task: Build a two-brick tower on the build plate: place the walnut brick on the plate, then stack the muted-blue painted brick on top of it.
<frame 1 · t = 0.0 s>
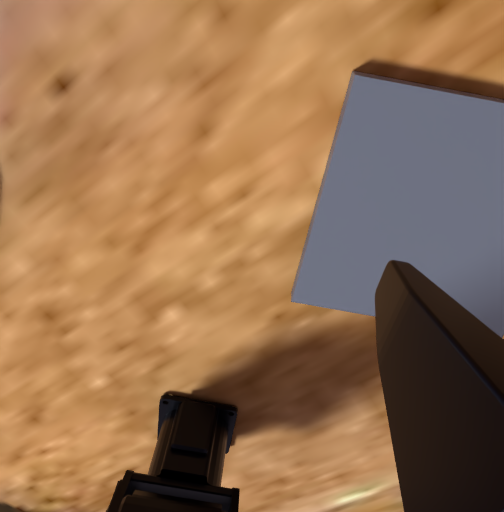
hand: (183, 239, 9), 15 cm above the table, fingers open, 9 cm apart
build plate: (435, 220, 25), on the table
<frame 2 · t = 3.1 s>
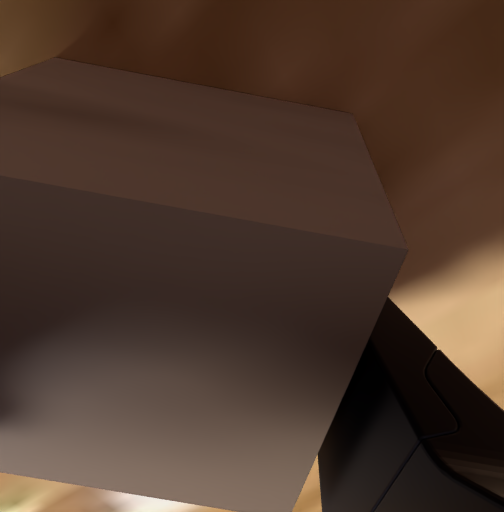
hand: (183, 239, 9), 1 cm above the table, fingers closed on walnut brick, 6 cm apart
walnut brick: (192, 216, 10), on the table, touching gripper
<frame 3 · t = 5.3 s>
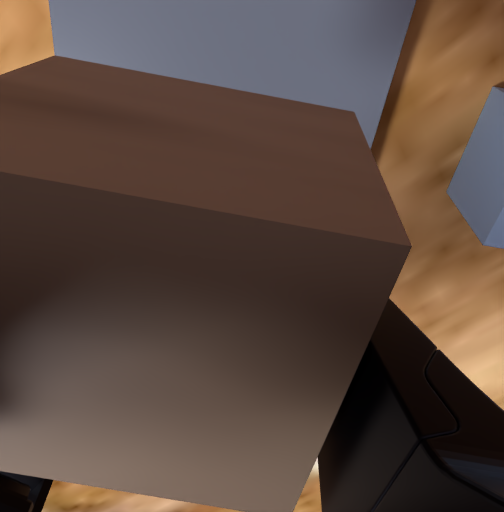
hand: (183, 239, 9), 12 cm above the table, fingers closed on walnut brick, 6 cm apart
build plate: (222, 79, 19), on the table
walnut brick: (193, 215, 10), point 11 cm above the table, touching gripper
when the fingers open (3 cm above the table, at t = 7.5 s): walnut brick drops 1 cm, resting on build plate.
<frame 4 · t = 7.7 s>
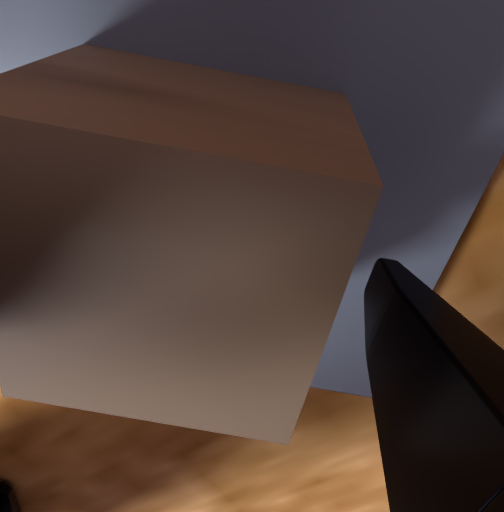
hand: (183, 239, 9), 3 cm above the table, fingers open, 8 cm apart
build plate: (210, 174, 12), on the table
walnut brick: (202, 188, 11), point 1 cm above the table, touching build plate
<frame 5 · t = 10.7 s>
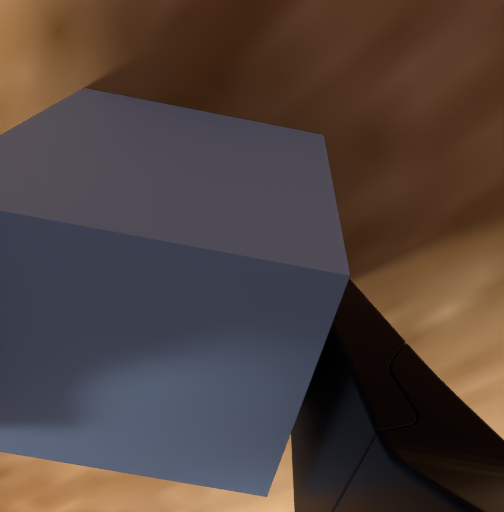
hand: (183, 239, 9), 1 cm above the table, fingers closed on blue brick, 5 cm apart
blue brick: (194, 214, 10), on the table, touching gripper
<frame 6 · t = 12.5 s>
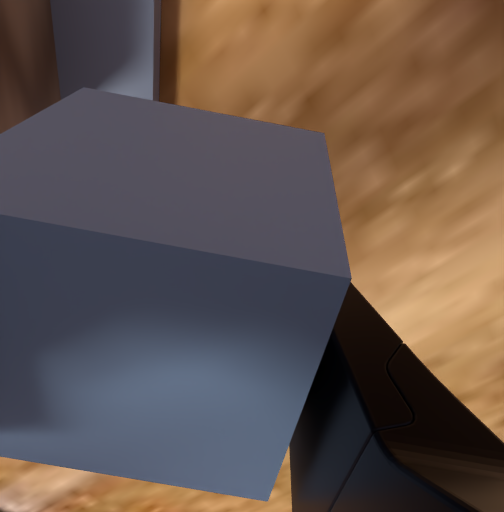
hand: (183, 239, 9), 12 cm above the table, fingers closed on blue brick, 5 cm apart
blue brick: (194, 215, 10), point 11 cm above the table, touching gripper
when the fingers open (8 cm above the table, at t = 14.3 s): blue brick drops 1 cm, resting on walnut brick.
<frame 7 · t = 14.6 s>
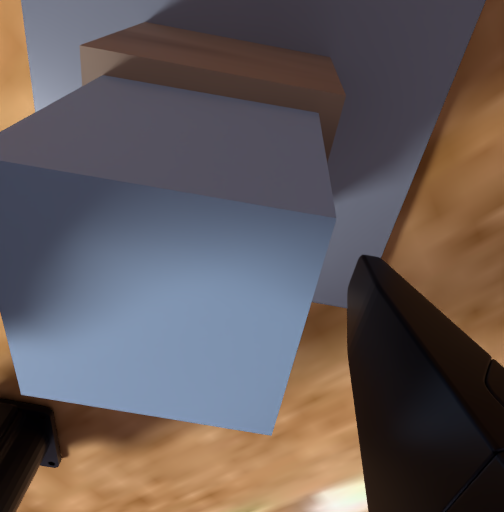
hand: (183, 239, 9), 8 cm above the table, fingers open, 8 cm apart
build plate: (230, 123, 16), on the table
walnut brick: (226, 131, 15), point 1 cm above the table, touching blue brick, build plate
blue brick: (202, 192, 11), point 6 cm above the table, touching walnut brick
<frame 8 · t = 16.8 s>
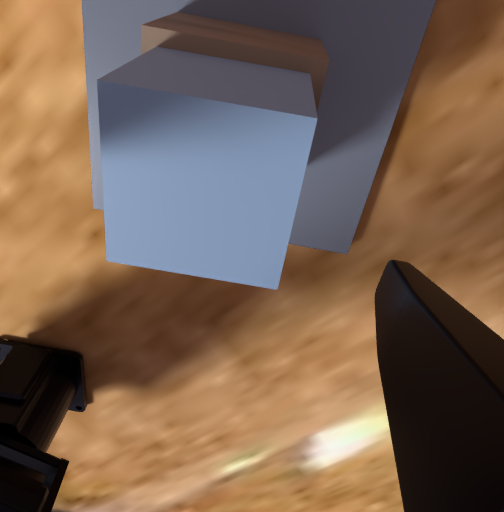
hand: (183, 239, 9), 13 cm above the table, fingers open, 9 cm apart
build plate: (242, 95, 20), on the table
walnut brick: (239, 99, 19), point 1 cm above the table, touching blue brick, build plate
blue brick: (224, 135, 15), point 6 cm above the table, touching walnut brick
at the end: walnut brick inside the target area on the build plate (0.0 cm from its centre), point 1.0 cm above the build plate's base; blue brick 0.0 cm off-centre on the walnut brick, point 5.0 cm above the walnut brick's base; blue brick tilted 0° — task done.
